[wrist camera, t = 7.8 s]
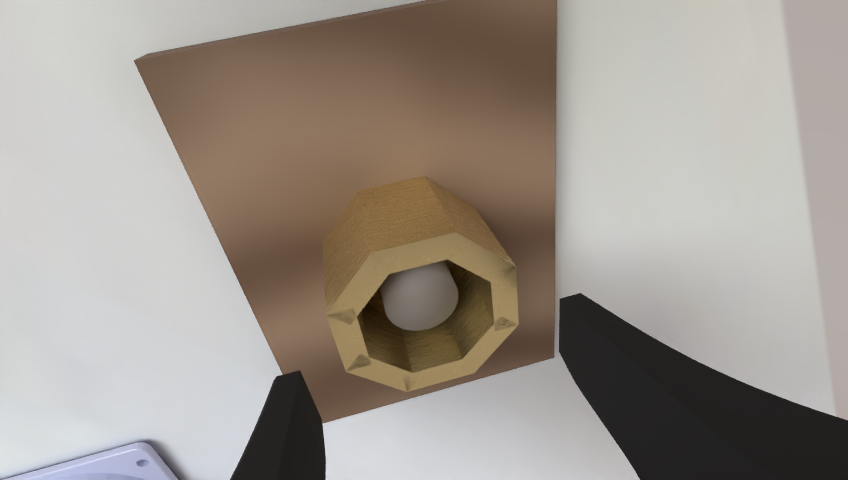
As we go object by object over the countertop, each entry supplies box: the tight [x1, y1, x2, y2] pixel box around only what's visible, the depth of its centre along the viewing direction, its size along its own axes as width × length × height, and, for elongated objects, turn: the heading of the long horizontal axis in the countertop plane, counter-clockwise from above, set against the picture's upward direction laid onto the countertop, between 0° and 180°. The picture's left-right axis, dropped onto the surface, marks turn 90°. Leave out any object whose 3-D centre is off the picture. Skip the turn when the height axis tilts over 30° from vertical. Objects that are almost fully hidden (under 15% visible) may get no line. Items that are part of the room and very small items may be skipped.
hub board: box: [134, 0, 557, 423], centre depth 16 cm, size 16×12×4 cm
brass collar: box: [323, 176, 519, 392], centre depth 15 cm, size 6×6×4 cm
